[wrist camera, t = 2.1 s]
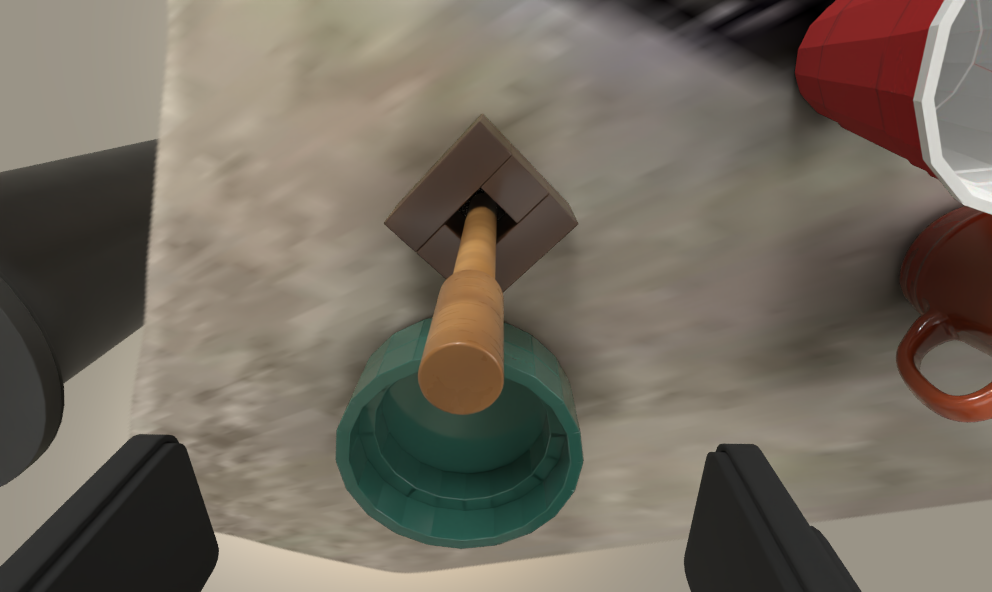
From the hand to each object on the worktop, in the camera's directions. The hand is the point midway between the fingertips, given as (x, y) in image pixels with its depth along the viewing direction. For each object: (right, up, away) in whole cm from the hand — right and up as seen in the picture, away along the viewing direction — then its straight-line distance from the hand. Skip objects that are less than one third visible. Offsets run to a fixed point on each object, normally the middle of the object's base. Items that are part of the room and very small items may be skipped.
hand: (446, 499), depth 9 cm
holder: (0, +9, +20) cm, 22 cm away
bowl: (-1, -4, +26) cm, 26 cm away
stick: (0, +9, +20) cm, 22 cm away
